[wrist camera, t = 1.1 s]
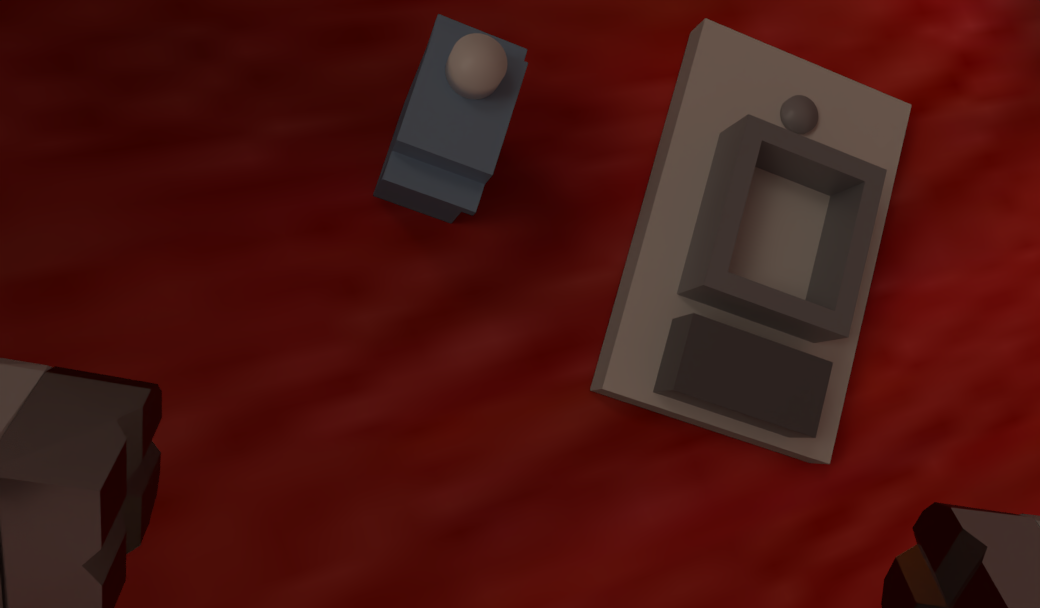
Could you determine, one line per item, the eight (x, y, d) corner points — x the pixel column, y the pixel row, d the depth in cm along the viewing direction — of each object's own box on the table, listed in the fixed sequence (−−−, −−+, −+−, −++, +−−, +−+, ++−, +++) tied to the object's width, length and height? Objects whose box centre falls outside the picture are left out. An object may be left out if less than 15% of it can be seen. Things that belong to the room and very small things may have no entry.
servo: (443, 247, 38) (490, 196, 30) (364, 219, 37) (390, 160, 29) (488, 108, 39) (544, 23, 31) (412, 79, 39) (449, -16, 30)
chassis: (809, 463, 41) (865, 466, 37) (589, 390, 39) (625, 385, 35) (890, 115, 44) (949, 85, 40) (690, 32, 42) (732, -8, 38)
